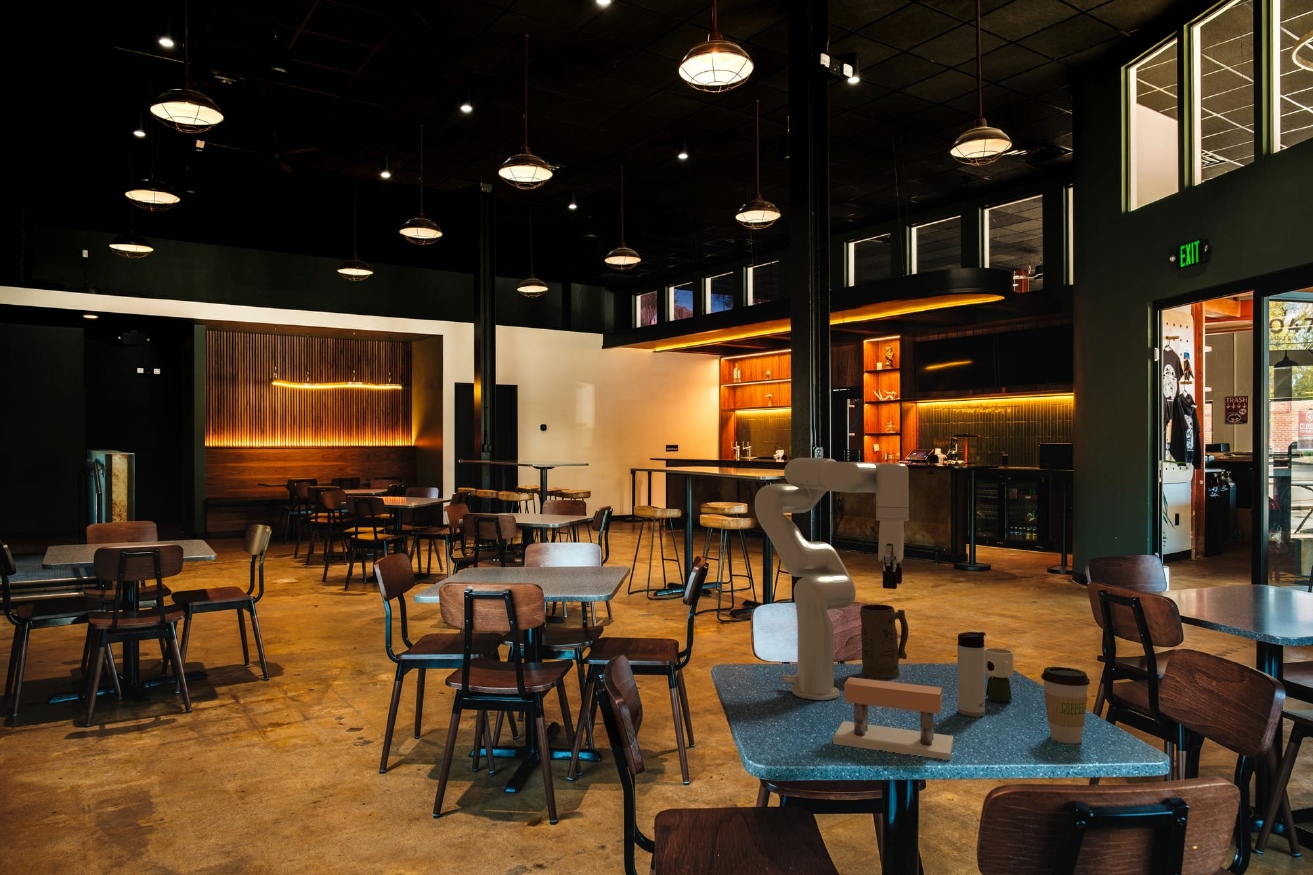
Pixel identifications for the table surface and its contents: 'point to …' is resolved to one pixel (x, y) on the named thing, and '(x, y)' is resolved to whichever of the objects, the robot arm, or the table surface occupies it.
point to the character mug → (998, 673)
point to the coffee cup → (1065, 702)
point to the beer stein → (882, 640)
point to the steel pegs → (925, 723)
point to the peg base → (894, 741)
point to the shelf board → (894, 695)
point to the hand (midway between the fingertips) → (892, 585)
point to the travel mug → (971, 674)
